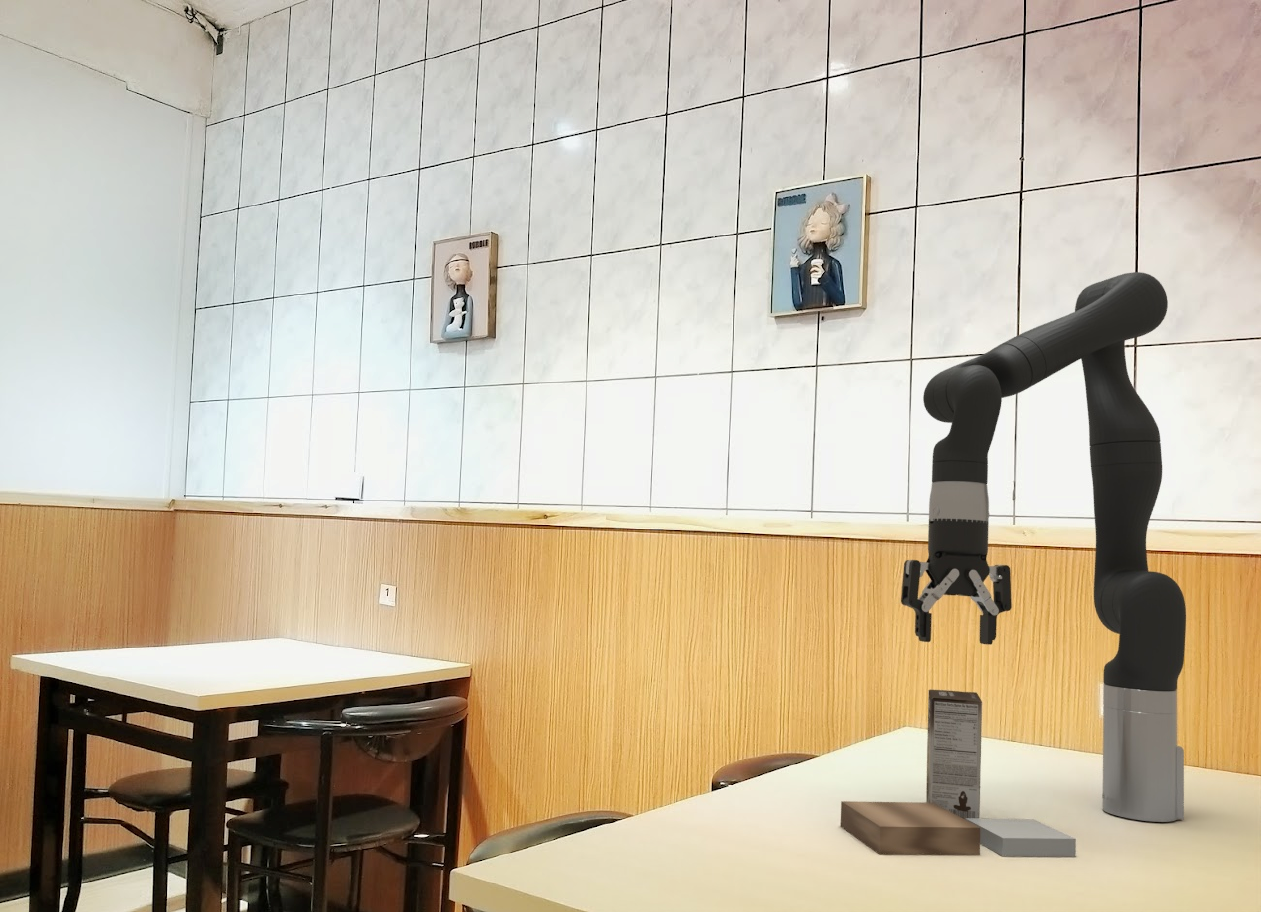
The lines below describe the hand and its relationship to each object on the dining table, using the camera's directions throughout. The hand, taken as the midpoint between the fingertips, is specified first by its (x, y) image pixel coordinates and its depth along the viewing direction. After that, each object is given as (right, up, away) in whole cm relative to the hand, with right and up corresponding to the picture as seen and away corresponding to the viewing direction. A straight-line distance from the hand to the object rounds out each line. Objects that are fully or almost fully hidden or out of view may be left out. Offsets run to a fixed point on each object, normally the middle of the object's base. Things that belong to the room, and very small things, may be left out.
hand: (955, 642), depth 137 cm
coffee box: (-1, -23, -2) cm, 23 cm away
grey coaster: (+4, -22, -13) cm, 25 cm away
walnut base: (-10, -21, -13) cm, 26 cm away
